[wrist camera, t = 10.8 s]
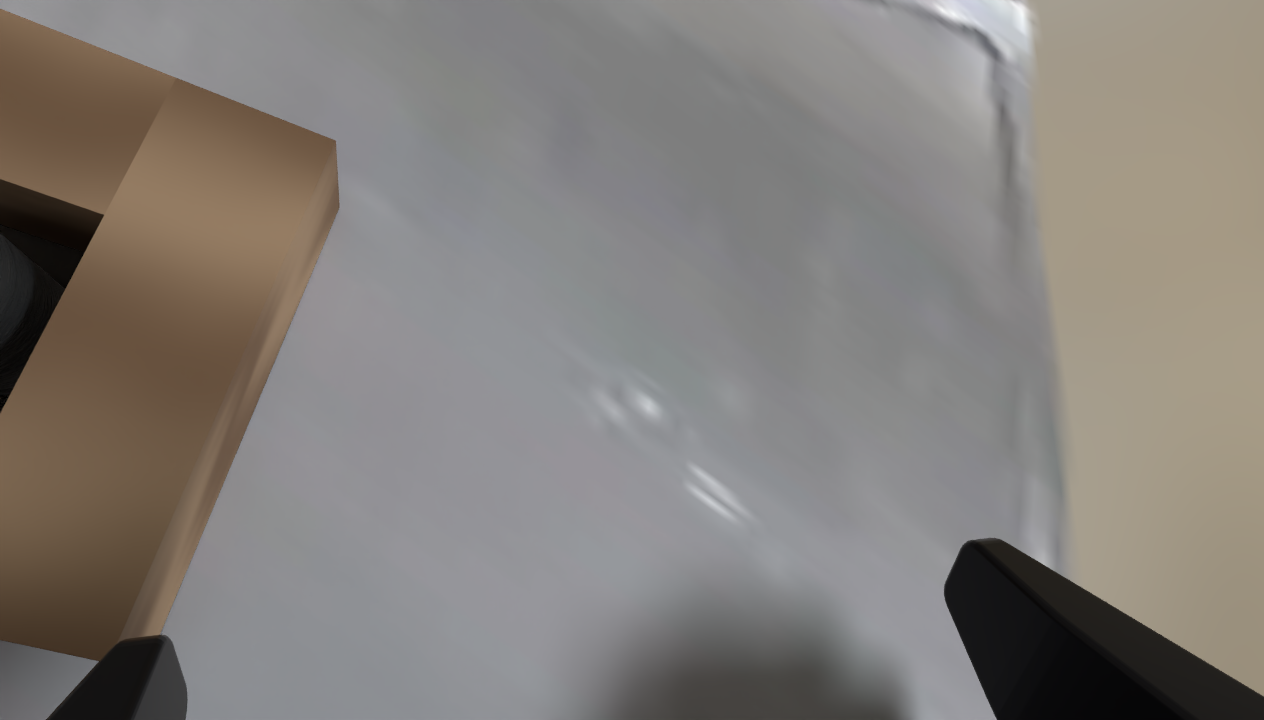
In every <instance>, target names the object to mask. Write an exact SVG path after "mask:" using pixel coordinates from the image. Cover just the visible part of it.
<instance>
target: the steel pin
mask: <svg viewBox="0 0 1264 720" xmlns="http://www.w3.org/2000/svg"><path fill="white" fill-rule="evenodd" d="M64 291H65V289H64V288H63V287H62V286H61V285H60V284H59V283H57V282H56V281H55V280H54V279H53V278H52V277H50V276H49V275H48V274H47V273H46V272H45V271H44V270H42V269H41V268H40V267H39V266H38V265H37V264H35V263H34V262H33V261H32V260H31V259H30V258H29V257H27V256H26V255H25V254H24V253H23V252H22V251H20V250H19V249H18V248H17V247H16V246H15V245H13V244H12V243H11V242H10V241H9V240H8V239H7V238H5V237H4V236H3V235H2V234H1V233H0V395H7V394H11V392H12V390H13V388H14V386H15V384H16V382H17V381H18V379H19V377H20V375H21V373H22V371H23V369H24V367H25V365H26V363H27V362H28V360H29V358H30V356H31V354H32V352H33V350H34V348H35V346H36V344H37V342H38V341H39V339H40V337H41V335H42V333H43V331H44V329H45V327H46V325H47V323H48V321H49V320H50V318H51V316H52V314H53V312H54V310H55V308H56V306H57V304H58V302H59V301H60V299H61V297H62V295H63V293H64Z"/></svg>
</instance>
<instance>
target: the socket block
mask: <svg viewBox="0 0 1264 720" xmlns="http://www.w3.org/2000/svg"><path fill="white" fill-rule="evenodd" d="M338 209H339V190H338V172H337V154H336V141H335V140H333V139H330V138H327V137H325V136H322V135H320V134H317V133H315V132H312V131H310V130H307V129H305V128H302V127H300V126H297V125H294V124H292V123H289V122H287V121H284V120H282V119H279V118H277V117H274V116H272V115H269V114H266V113H264V112H261V111H259V110H256V109H254V108H251V107H249V106H246V105H244V104H241V103H239V102H236V101H233V100H231V99H228V98H226V97H223V96H221V95H218V94H216V93H213V92H211V91H208V90H205V89H203V88H200V87H198V86H195V85H193V84H190V83H188V82H185V81H183V80H180V79H178V78H175V77H172V76H170V75H167V74H165V73H162V72H160V71H157V70H155V69H152V68H150V67H147V66H144V65H142V64H139V63H137V62H134V61H132V60H129V59H127V58H124V57H122V56H119V55H117V54H114V53H111V52H109V51H106V50H104V49H101V48H99V47H96V46H94V45H91V44H89V43H86V42H83V41H81V40H78V39H76V38H73V37H71V36H68V35H66V34H63V33H61V32H58V31H56V30H53V29H50V28H48V27H45V26H43V25H40V24H38V23H35V22H33V21H30V20H28V19H25V18H22V17H20V16H17V15H15V14H12V13H10V12H7V11H5V10H2V9H0V225H3V226H7V227H10V228H13V229H16V230H19V231H22V232H25V233H28V234H31V235H34V236H37V237H40V238H43V239H46V240H49V241H52V242H55V243H58V244H61V245H64V246H67V247H70V248H73V249H76V250H79V251H82V252H85V253H84V255H83V257H82V259H81V261H80V262H79V264H78V266H77V268H76V270H75V272H74V274H73V276H72V278H71V280H70V281H69V283H68V285H67V287H66V289H65V291H64V293H63V295H62V297H61V299H60V301H59V302H58V304H57V306H56V308H55V310H54V312H53V314H52V316H51V318H50V320H49V321H48V323H47V325H46V327H45V329H44V331H43V333H42V335H41V337H40V339H39V341H38V342H37V344H36V346H35V348H34V350H33V352H32V354H31V356H30V358H29V360H28V362H27V363H26V365H25V367H24V369H23V371H22V373H21V375H20V377H19V379H18V381H17V382H16V384H15V386H14V388H13V390H12V392H11V394H10V396H9V398H8V400H7V402H6V403H5V405H4V407H3V409H2V411H1V413H0V640H3V641H8V642H12V643H17V644H22V645H26V646H31V647H36V648H40V649H45V650H50V651H54V652H59V653H64V654H68V655H73V656H78V657H82V658H87V659H92V660H96V661H100V660H101V659H102V658H103V657H104V656H105V655H106V653H107V652H108V651H109V650H110V649H111V648H112V647H113V646H114V645H115V644H117V643H118V642H120V641H122V640H124V639H128V638H136V637H144V636H153V635H160V633H161V631H162V628H163V626H164V624H165V621H166V619H167V616H168V614H169V612H170V609H171V607H172V604H173V602H174V600H175V597H176V595H177V593H178V590H179V588H180V585H181V583H182V581H183V578H184V576H185V574H186V571H187V569H188V566H189V564H190V562H191V559H192V557H193V555H194V552H195V550H196V547H197V545H198V543H199V540H200V538H201V535H202V533H203V531H204V528H205V526H206V524H207V521H208V519H209V516H210V514H211V512H212V509H213V507H214V505H215V502H216V500H217V497H218V495H219V493H220V490H221V488H222V486H223V483H224V481H225V478H226V476H227V474H228V471H229V469H230V466H231V464H232V462H233V459H234V457H235V455H236V452H237V450H238V447H239V445H240V443H241V440H242V438H243V436H244V433H245V431H246V428H247V426H248V424H249V421H250V419H251V416H252V414H253V412H254V409H255V407H256V405H257V402H258V400H259V397H260V395H261V393H262V390H263V388H264V386H265V383H266V381H267V378H268V376H269V374H270V371H271V369H272V367H273V364H274V362H275V359H276V357H277V355H278V352H279V350H280V347H281V345H282V343H283V340H284V338H285V336H286V333H287V331H288V328H289V326H290V324H291V321H292V319H293V317H294V314H295V312H296V309H297V307H298V305H299V302H300V300H301V298H302V295H303V293H304V290H305V288H306V286H307V283H308V281H309V278H310V276H311V274H312V271H313V269H314V267H315V264H316V262H317V259H318V257H319V255H320V252H321V250H322V248H323V245H324V243H325V240H326V238H327V236H328V233H329V231H330V229H331V226H332V224H333V221H334V219H335V217H336V214H337V212H338Z"/></svg>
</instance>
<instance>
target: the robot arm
mask: <svg viewBox="0 0 1264 720" xmlns="http://www.w3.org/2000/svg"><path fill="white" fill-rule="evenodd" d="M944 597H945V601H946V604H947V607H948V609H949V612H950V614H951V616H952V618H953V621H954V623H955V625H956V628H957V630H958V632H959V635H960V637H961V639H962V642H963V644H964V646H965V649H966V651H967V653H968V655H969V658H970V660H971V662H972V665H973V667H974V669H975V672H976V674H977V676H978V679H979V681H980V683H981V686H982V688H983V690H984V692H985V695H986V697H987V699H988V701H989V704H990V706H991V708H992V710H993V712H994V714H995V717H996V719H997V720H1264V696H1262V695H1260V694H1259V693H1257V692H1255V691H1254V690H1252V689H1250V688H1249V687H1247V686H1245V685H1244V684H1242V683H1240V682H1239V681H1237V680H1235V679H1233V678H1232V677H1230V676H1229V675H1227V674H1225V673H1224V672H1222V671H1220V670H1219V669H1217V668H1215V667H1214V666H1212V665H1210V664H1208V663H1207V662H1205V661H1203V660H1202V659H1200V658H1198V657H1197V656H1195V655H1193V654H1192V653H1190V652H1188V651H1187V650H1185V649H1183V648H1181V647H1180V646H1178V645H1177V644H1175V643H1173V642H1172V641H1170V640H1168V639H1167V638H1164V637H1163V636H1162V635H1160V634H1158V633H1156V632H1155V631H1153V630H1152V629H1150V628H1148V627H1147V626H1145V625H1143V624H1142V623H1140V622H1138V621H1137V620H1135V619H1133V618H1132V617H1130V616H1128V615H1127V614H1125V613H1123V612H1121V611H1120V610H1118V609H1117V608H1115V607H1113V606H1112V605H1110V604H1108V603H1107V602H1105V601H1103V600H1101V599H1100V598H1098V597H1096V596H1095V595H1093V594H1092V593H1090V592H1088V591H1086V590H1085V589H1083V588H1081V587H1080V586H1078V585H1076V584H1075V583H1073V582H1071V581H1070V580H1068V579H1066V578H1065V577H1063V576H1061V575H1060V574H1058V573H1056V572H1055V571H1053V570H1051V569H1050V568H1048V567H1046V566H1045V565H1043V564H1041V563H1040V562H1038V561H1036V560H1035V559H1033V558H1031V557H1030V556H1028V555H1026V554H1025V553H1023V552H1021V551H1020V550H1018V549H1016V548H1015V547H1013V546H1011V545H1010V544H1008V543H1006V542H1004V541H1003V540H1000V539H997V538H986V539H977V540H970V541H967V542H966V543H965V544H964V545H963V546H962V547H961V549H960V551H959V554H958V556H957V558H956V560H955V562H954V564H953V567H952V569H951V571H950V573H949V575H948V578H947V580H946V582H945V586H944ZM186 712H187V687H186V683H185V680H184V677H183V674H182V671H181V667H180V664H179V661H178V658H177V655H176V652H175V649H174V646H173V643H172V641H171V639H170V638H169V637H168V636H166V635H153V636H144V637H136V638H128V639H124V640H122V641H120V642H118V643H117V644H115V645H114V646H113V647H112V648H111V649H110V650H109V651H108V652H107V653H106V655H105V656H104V657H103V658H102V659H101V660H100V661H99V662H98V663H97V664H96V666H95V667H94V668H93V669H92V670H91V671H90V672H89V673H88V674H87V675H86V677H85V678H84V679H83V680H82V681H81V682H80V683H79V684H78V685H77V686H76V687H75V689H74V690H73V691H72V692H71V693H70V694H69V695H68V696H67V697H66V698H65V700H64V701H63V702H62V703H61V704H60V705H59V706H58V707H57V708H56V709H55V711H54V712H53V713H52V714H51V715H50V716H49V717H48V718H47V719H46V720H185V719H186Z"/></svg>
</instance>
